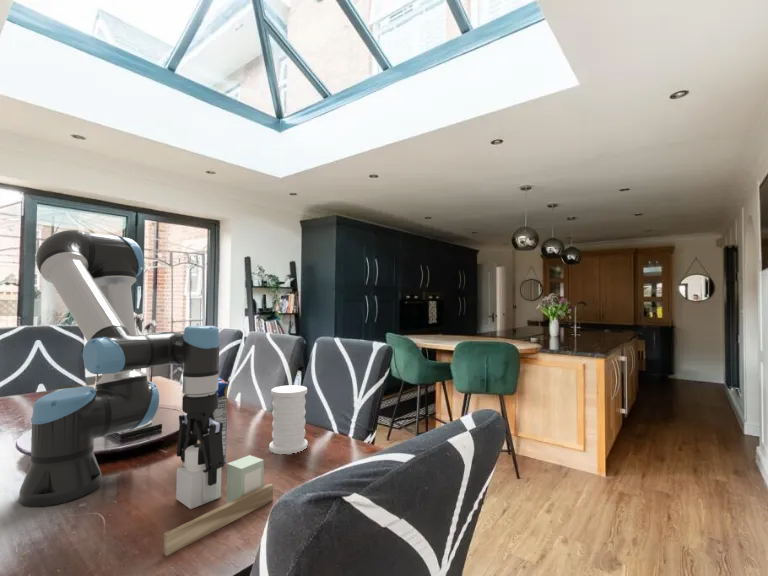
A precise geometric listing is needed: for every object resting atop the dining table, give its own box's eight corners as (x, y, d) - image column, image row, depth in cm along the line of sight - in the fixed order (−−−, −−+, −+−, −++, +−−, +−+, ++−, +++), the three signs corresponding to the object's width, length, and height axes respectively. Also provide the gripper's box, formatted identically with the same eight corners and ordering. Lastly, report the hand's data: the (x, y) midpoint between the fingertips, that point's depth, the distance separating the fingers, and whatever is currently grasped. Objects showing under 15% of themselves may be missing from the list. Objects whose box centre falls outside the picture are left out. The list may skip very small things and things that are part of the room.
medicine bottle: (206, 488, 97) (207, 438, 97) (221, 497, 92) (222, 444, 92) (175, 499, 91) (176, 446, 91) (190, 510, 86) (191, 454, 87)
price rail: (162, 553, 72) (162, 533, 72) (268, 498, 92) (268, 482, 92) (166, 556, 71) (167, 535, 71) (272, 500, 91) (272, 484, 91)
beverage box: (199, 468, 108) (200, 386, 109) (193, 454, 117) (195, 379, 118) (225, 462, 112) (227, 383, 112) (218, 450, 121) (220, 377, 122)
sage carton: (226, 504, 89) (227, 463, 89) (248, 493, 94) (249, 455, 94) (240, 511, 86) (241, 469, 86) (263, 499, 91) (263, 459, 92)
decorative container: (261, 452, 120) (262, 391, 120) (282, 439, 131) (283, 383, 131) (295, 456, 116) (296, 394, 117) (314, 443, 127) (314, 386, 128)
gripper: (242, 395, 90) (240, 499, 89) (191, 384, 101) (189, 476, 100) (212, 402, 84) (210, 514, 83) (161, 390, 95) (158, 488, 94)
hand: (198, 493), depth 92 cm, fingers closed on medicine bottle, 7 cm apart
